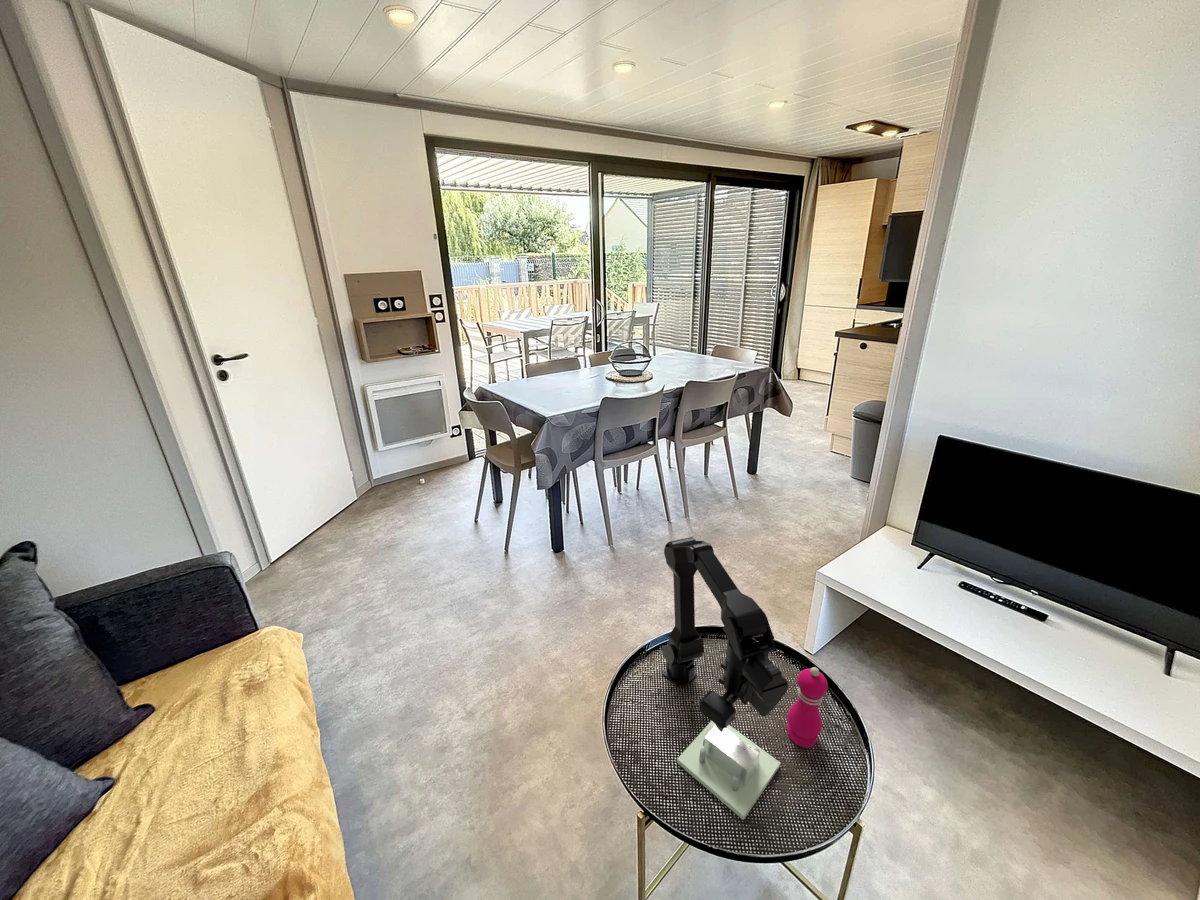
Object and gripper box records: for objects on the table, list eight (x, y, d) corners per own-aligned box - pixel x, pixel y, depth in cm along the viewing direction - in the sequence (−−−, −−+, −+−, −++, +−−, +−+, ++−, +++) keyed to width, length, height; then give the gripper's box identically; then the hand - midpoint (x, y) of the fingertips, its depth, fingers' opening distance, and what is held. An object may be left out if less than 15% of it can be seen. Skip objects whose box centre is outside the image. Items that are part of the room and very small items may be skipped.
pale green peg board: (676, 762, 103) (678, 749, 102) (715, 719, 113) (717, 706, 111) (743, 820, 93) (745, 806, 91) (779, 766, 102) (782, 753, 101)
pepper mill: (824, 748, 106) (840, 681, 99) (793, 751, 106) (807, 683, 98) (809, 719, 113) (823, 654, 105) (779, 721, 112) (791, 656, 105)
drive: (756, 769, 101) (759, 753, 99) (744, 787, 97) (747, 770, 95) (714, 736, 108) (715, 721, 106) (701, 751, 104) (702, 735, 102)
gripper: (752, 716, 84) (742, 774, 90) (800, 658, 96) (789, 713, 102) (700, 678, 92) (694, 734, 98) (751, 629, 104) (743, 682, 110)
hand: (732, 716), depth 102 cm, fingers open, 9 cm apart
